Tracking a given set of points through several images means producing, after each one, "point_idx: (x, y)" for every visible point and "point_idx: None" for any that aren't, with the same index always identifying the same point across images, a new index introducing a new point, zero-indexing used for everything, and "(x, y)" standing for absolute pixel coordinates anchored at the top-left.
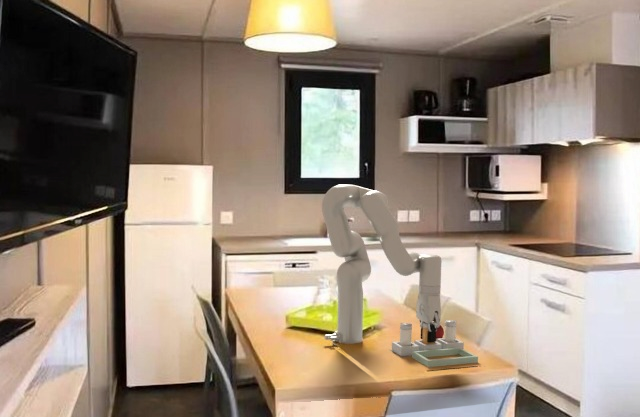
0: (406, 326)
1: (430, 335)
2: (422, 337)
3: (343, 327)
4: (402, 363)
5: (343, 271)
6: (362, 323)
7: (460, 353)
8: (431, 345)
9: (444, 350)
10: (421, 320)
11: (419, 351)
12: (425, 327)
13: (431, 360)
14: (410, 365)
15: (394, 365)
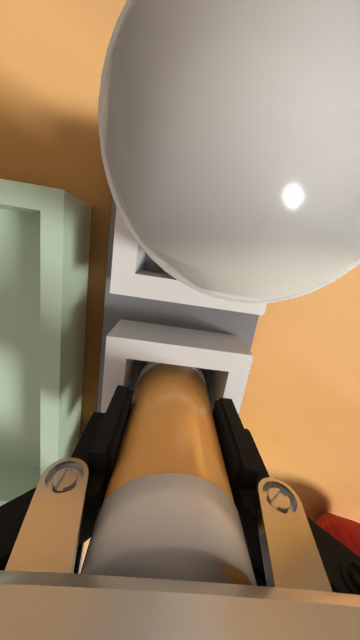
0: (119, 39)
1: (91, 438)
2: (216, 409)
3: None
4: (79, 123)
5: None
6: None
7: (38, 480)
8: (102, 389)
9: (41, 420)
10: (221, 588)
11: (50, 248)
12: (139, 487)
13: None
14: (27, 148)
15: (56, 30)
